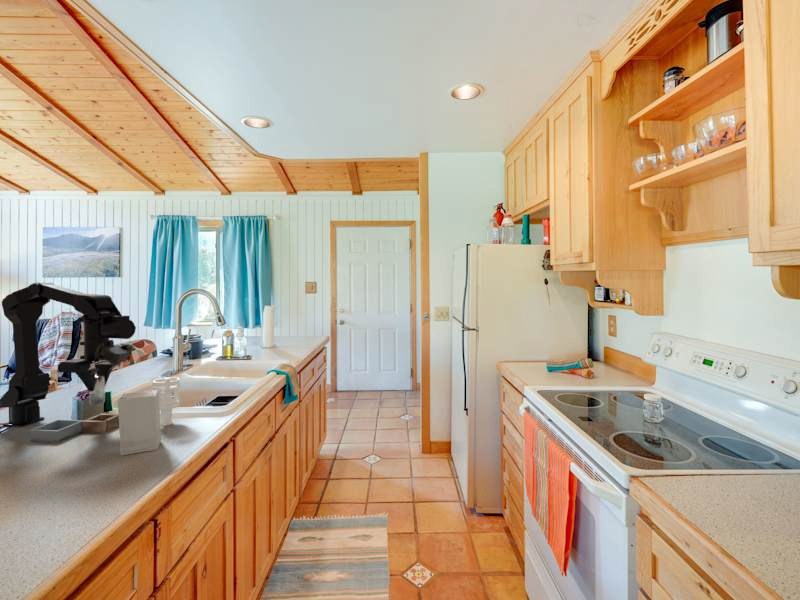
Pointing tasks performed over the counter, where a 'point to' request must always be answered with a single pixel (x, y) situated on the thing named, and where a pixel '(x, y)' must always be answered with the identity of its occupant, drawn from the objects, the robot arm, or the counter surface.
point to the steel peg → (98, 390)
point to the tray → (56, 430)
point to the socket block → (100, 423)
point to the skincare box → (139, 422)
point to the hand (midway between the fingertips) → (97, 389)
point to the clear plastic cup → (167, 397)
